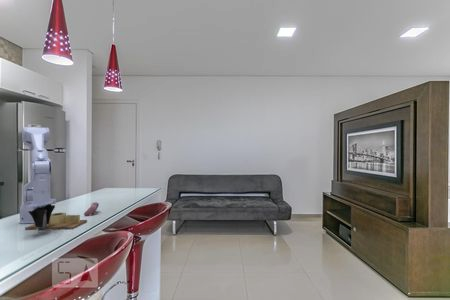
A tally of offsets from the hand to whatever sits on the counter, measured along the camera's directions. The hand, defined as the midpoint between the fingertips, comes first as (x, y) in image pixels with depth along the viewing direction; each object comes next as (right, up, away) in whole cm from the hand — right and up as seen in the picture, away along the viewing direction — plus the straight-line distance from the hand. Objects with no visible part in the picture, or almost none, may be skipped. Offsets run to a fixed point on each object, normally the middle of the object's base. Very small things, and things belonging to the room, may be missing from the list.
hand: (42, 225), depth 104 cm
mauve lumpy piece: (+3, -4, +33) cm, 33 cm away
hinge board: (-1, -3, +11) cm, 11 cm away
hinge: (-1, -3, +11) cm, 11 cm away
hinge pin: (0, -2, 0) cm, 2 cm away
